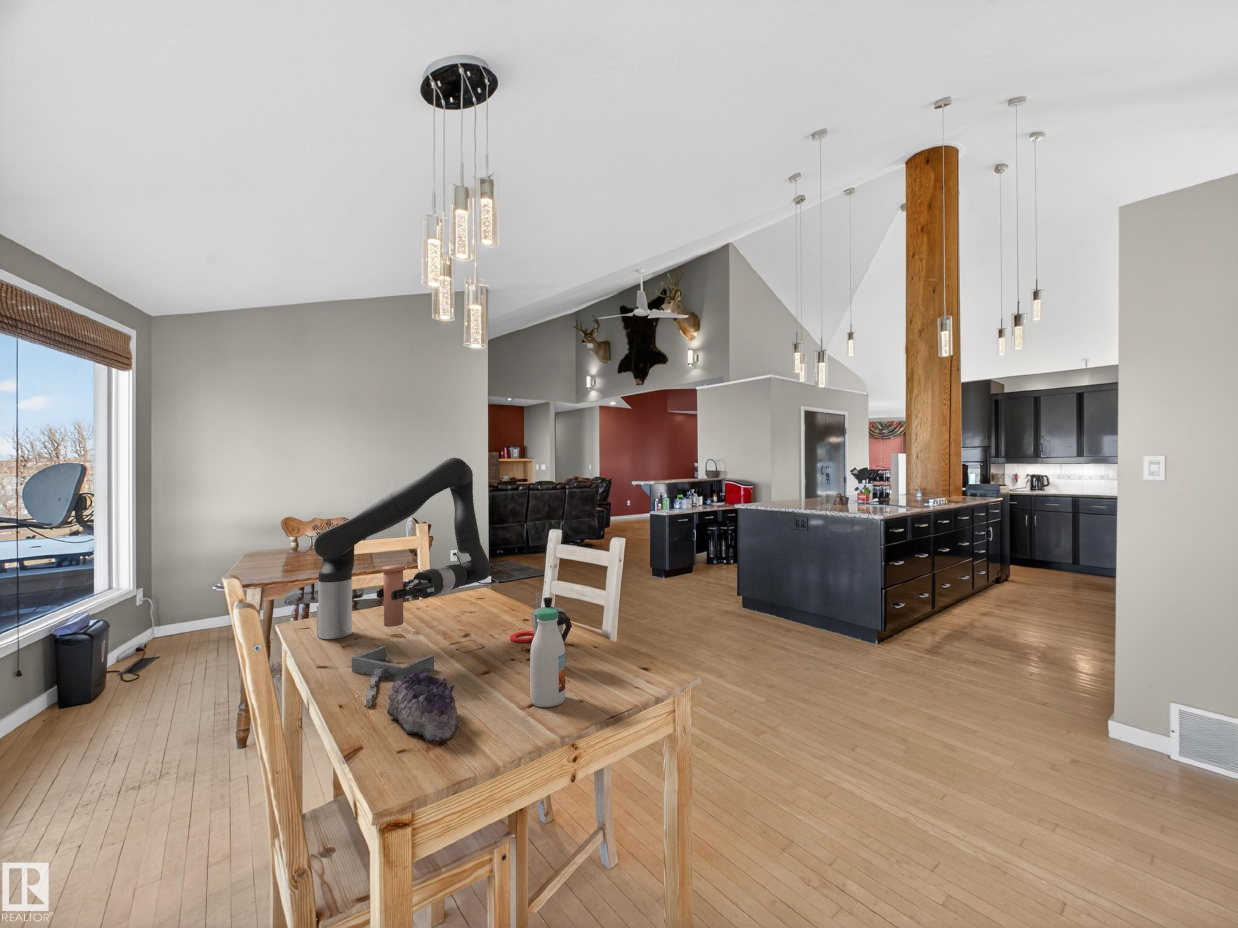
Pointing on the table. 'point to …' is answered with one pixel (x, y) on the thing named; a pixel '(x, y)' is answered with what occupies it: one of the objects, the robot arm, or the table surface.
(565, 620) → the coffee maker
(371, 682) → the chain
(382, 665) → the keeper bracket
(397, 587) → the pin
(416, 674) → the geode
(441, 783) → the table surface
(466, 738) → the table surface
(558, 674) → the milk bottle
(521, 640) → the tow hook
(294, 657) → the table surface
